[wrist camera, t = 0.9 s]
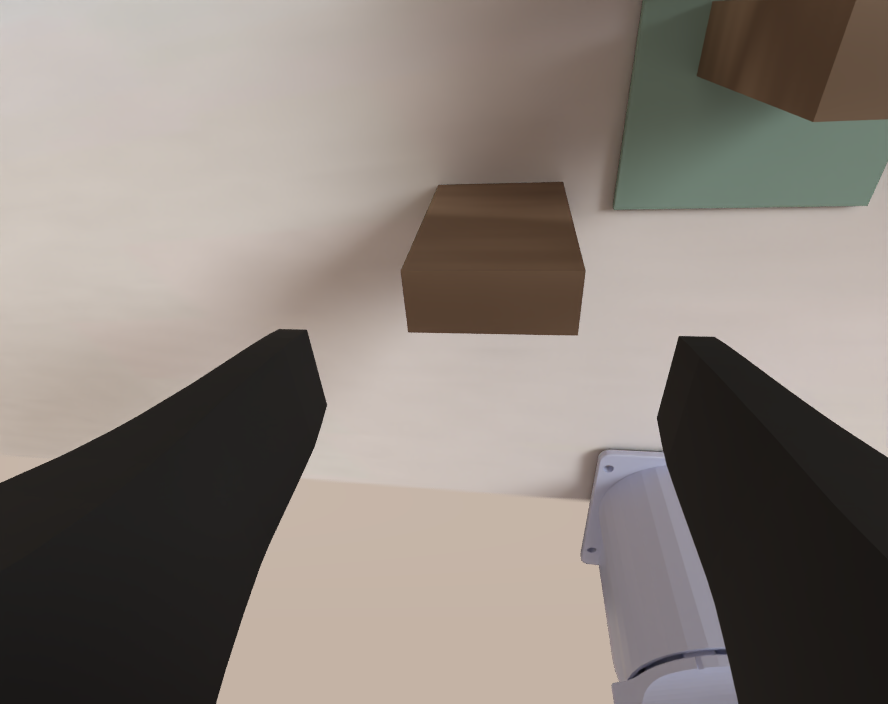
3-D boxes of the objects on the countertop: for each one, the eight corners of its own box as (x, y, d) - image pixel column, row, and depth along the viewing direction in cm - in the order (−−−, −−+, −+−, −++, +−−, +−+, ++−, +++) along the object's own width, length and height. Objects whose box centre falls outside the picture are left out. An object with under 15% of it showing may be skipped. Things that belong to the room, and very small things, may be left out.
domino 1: (558, 231, 18) (577, 335, 12) (441, 232, 18) (408, 332, 13) (562, 182, 17) (585, 270, 11) (438, 185, 17) (400, 270, 12)
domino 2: (860, 67, 14) (1100, 111, 8) (696, 76, 14) (812, 122, 9) (890, -12, 13) (1190, -25, 7) (712, 1, 13) (856, -2, 8)
